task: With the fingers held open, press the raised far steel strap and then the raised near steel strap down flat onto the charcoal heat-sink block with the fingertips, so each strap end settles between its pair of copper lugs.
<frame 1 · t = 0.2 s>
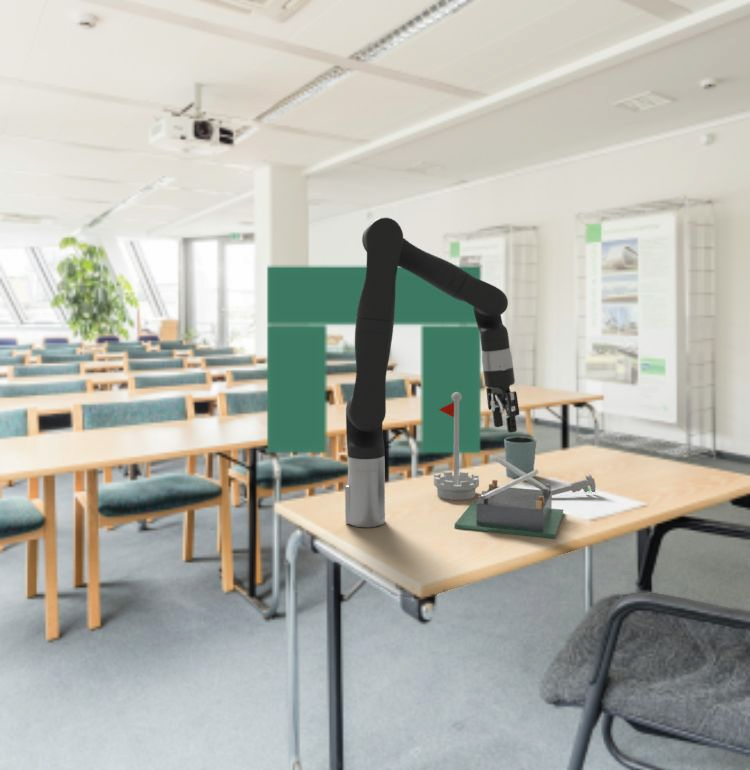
hand: (505, 429, 174), 23 cm above the table, tool pointing down, fingers open, 8 cm apart
far strap: (522, 474, 176), point 11 cm above the table, hinge at 30.0°
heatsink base: (515, 520, 172), on the table
blue-grey cup: (519, 476, 218), on the table
caliper: (561, 498, 193), on the table
flag stand: (456, 495, 197), on the table
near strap: (508, 485, 166), point 11 cm above the table, hinge at 30.0°
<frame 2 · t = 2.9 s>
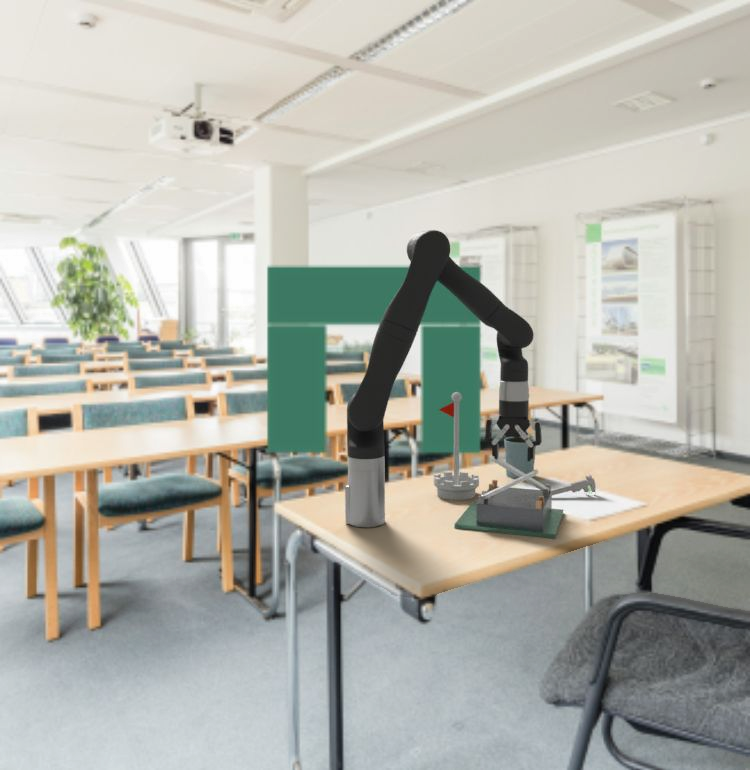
hand: (512, 459, 177), 14 cm above the table, tool pointing down, fingers open, 8 cm apart
far strap: (521, 475, 176), point 10 cm above the table, hinge at 28.4°, touching gripper
everything else where it was.
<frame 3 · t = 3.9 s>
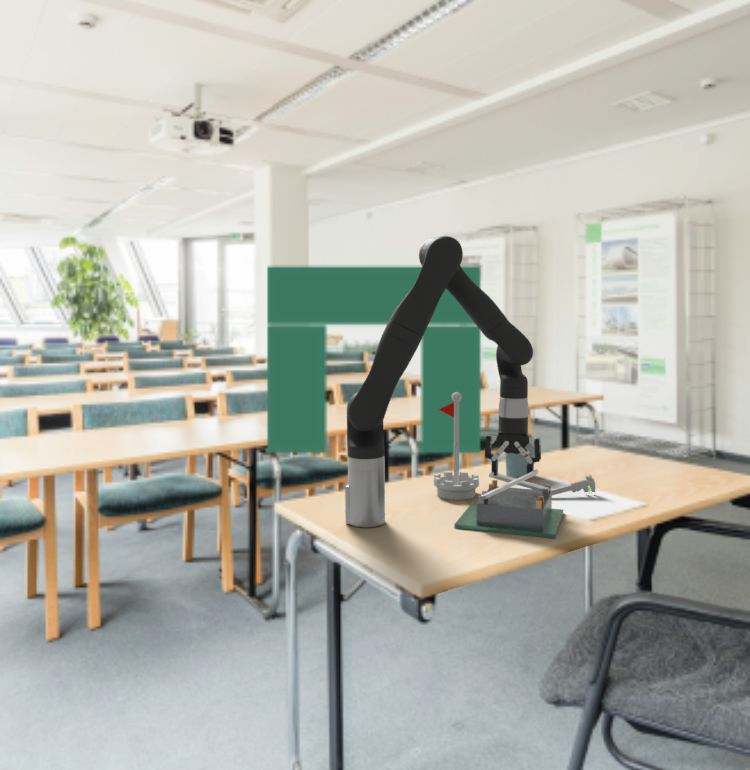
hand: (512, 475, 177), 10 cm above the table, tool pointing down, fingers open, 8 cm apart
far strap: (519, 482, 177), point 8 cm above the table, hinge at 11.7°, touching gripper
everything else where it was.
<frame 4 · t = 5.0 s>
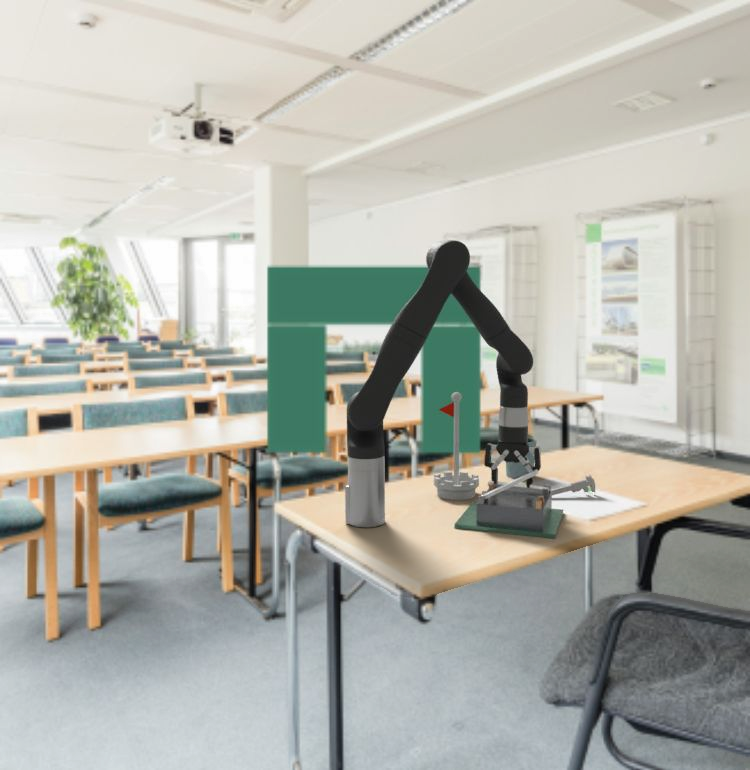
hand: (512, 484, 177), 8 cm above the table, tool pointing down, fingers open, 8 cm apart
far strap: (518, 486, 177), point 7 cm above the table, hinge at 2.2°, touching gripper
everything else where it was.
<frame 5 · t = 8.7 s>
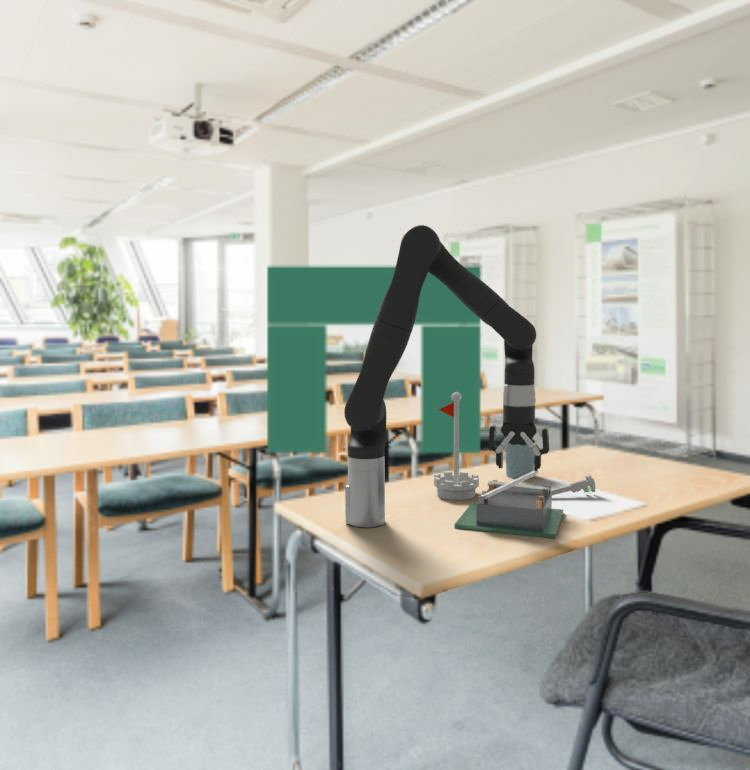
hand: (518, 469, 164), 15 cm above the table, tool pointing down, fingers open, 8 cm apart
far strap: (518, 486, 177), point 7 cm above the table, hinge at 2.1°
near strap: (508, 485, 166), point 10 cm above the table, hinge at 30.0°, touching gripper
everything else where it was.
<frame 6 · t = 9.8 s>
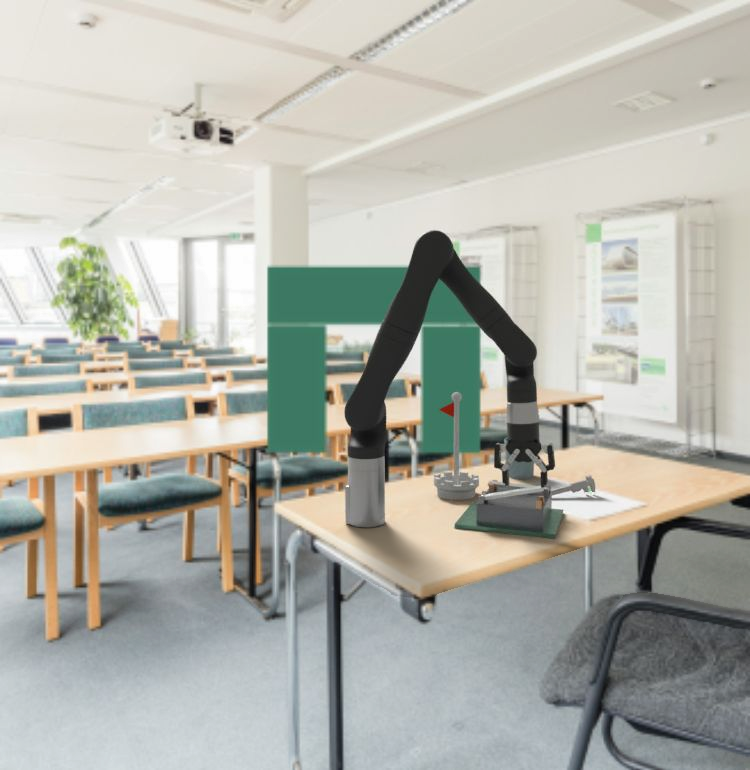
hand: (525, 486, 164), 11 cm above the table, tool pointing down, fingers open, 8 cm apart
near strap: (511, 493, 165), point 9 cm above the table, hinge at 13.8°, touching gripper
everything else where it was.
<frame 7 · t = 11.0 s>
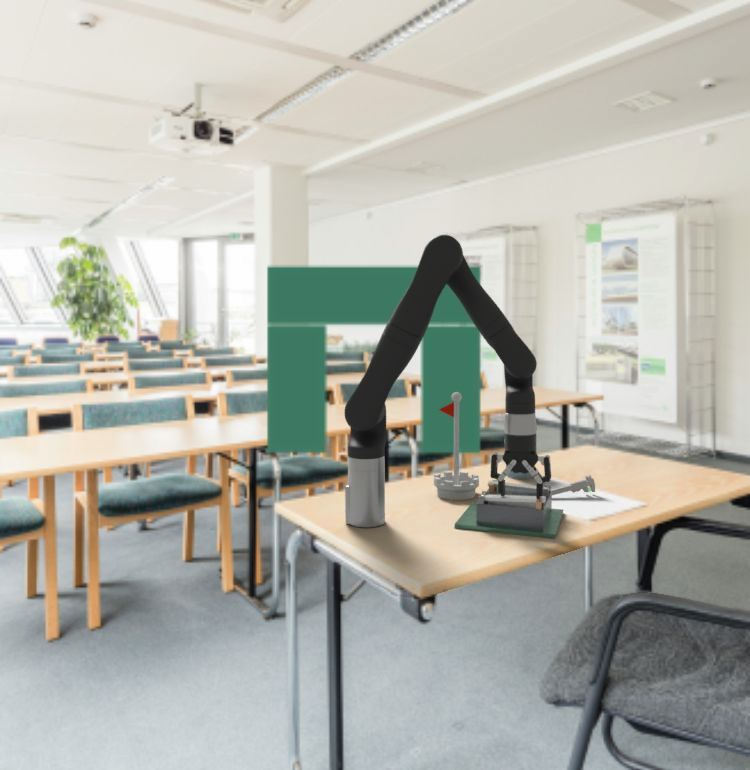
hand: (520, 496, 165), 8 cm above the table, tool pointing down, fingers open, 8 cm apart
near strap: (512, 498, 166), point 7 cm above the table, hinge at 3.1°, touching gripper
everything else where it was.
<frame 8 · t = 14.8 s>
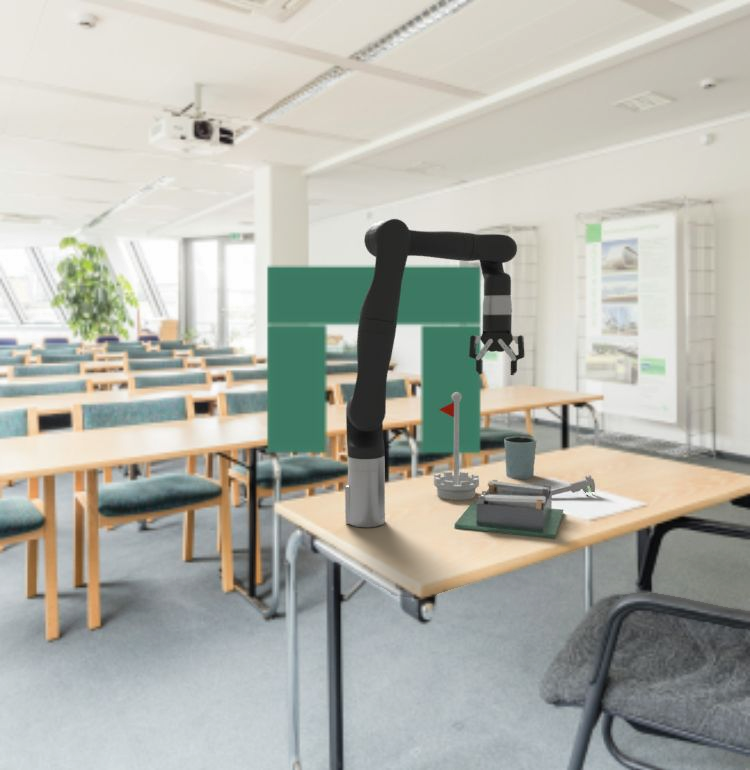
hand: (496, 374, 180), 36 cm above the table, tool pointing down, fingers open, 8 cm apart
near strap: (512, 498, 166), point 7 cm above the table, hinge at 3.0°
everything else where it was.
at the end: far strap at +2° (first picture: +30°); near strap at +3° (first picture: +30°) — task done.
